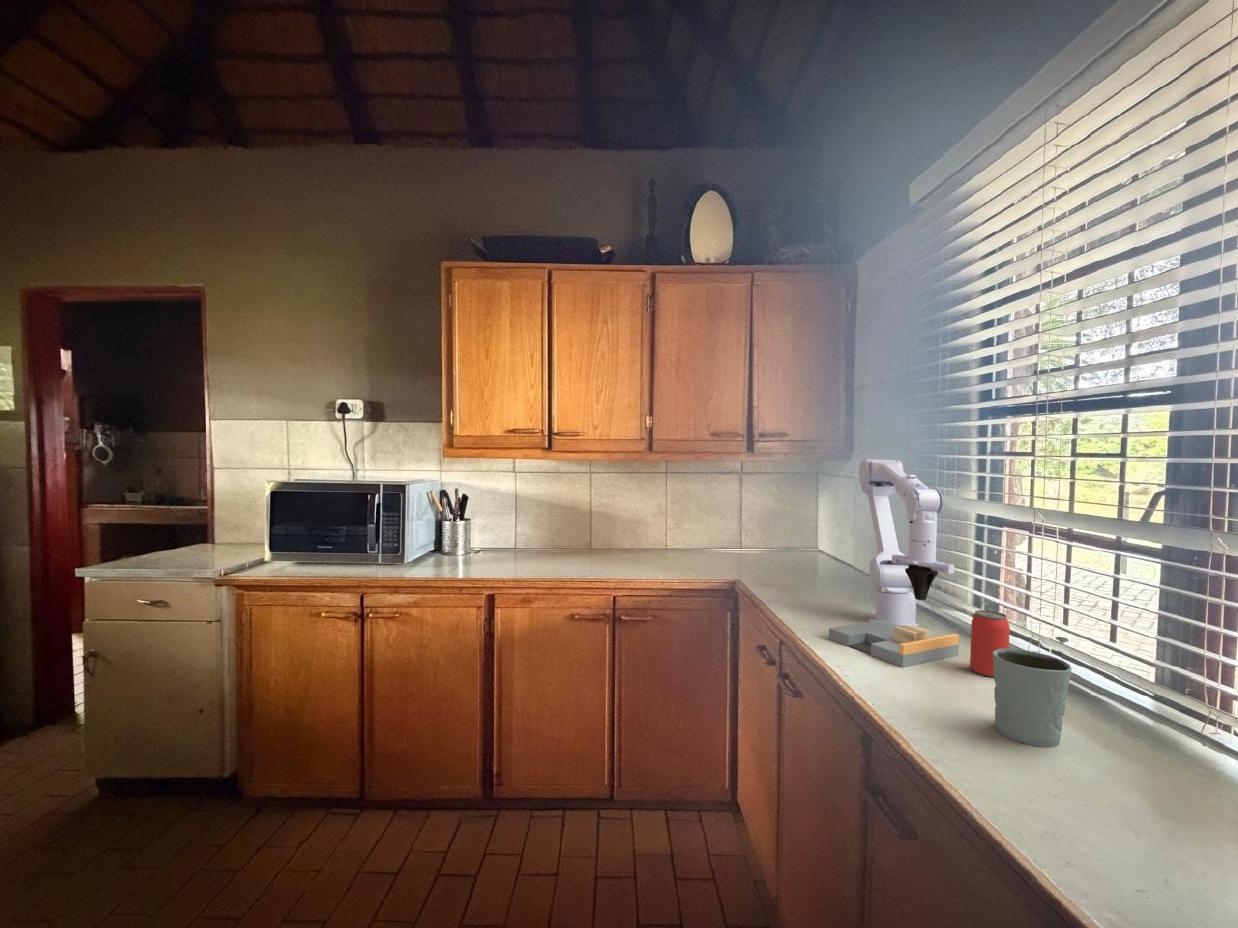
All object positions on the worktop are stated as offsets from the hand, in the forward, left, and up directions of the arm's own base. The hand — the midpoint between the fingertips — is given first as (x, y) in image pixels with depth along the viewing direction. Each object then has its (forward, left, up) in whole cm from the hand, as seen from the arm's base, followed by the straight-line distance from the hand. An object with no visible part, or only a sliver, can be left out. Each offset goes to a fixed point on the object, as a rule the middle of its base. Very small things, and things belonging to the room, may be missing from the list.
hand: (920, 599), depth 138 cm
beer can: (+3, +18, -11) cm, 21 cm away
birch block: (+8, +4, -8) cm, 12 cm away
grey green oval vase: (+24, +37, -11) cm, 45 cm away
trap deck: (+8, -1, -10) cm, 13 cm away
